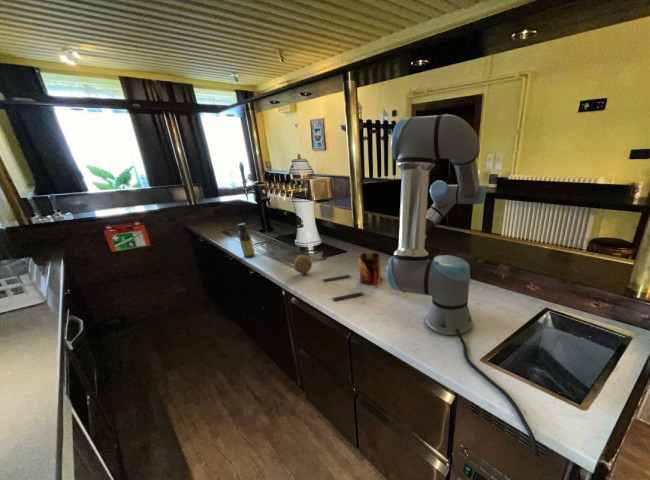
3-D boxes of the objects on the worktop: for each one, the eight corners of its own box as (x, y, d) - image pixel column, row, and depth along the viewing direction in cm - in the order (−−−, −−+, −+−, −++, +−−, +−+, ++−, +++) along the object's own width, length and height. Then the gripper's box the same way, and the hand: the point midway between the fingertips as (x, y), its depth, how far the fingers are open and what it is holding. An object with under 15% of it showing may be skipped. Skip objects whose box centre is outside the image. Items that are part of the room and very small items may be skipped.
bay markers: (362, 295, 127) (362, 294, 127) (334, 301, 123) (334, 300, 123) (348, 275, 148) (348, 274, 148) (324, 279, 144) (324, 279, 144)
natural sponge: (314, 275, 150) (311, 256, 145) (296, 278, 147) (292, 259, 143) (312, 269, 157) (309, 251, 153) (294, 272, 155) (291, 254, 150)
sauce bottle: (246, 255, 185) (238, 222, 177) (256, 254, 186) (248, 222, 177) (242, 258, 179) (234, 225, 171) (253, 257, 180) (245, 224, 172)
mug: (376, 288, 132) (375, 263, 127) (356, 280, 141) (354, 256, 136) (391, 281, 139) (390, 257, 134) (371, 274, 148) (369, 251, 143)
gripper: (441, 228, 134) (407, 269, 136) (428, 223, 145) (397, 261, 148) (431, 218, 130) (396, 260, 133) (418, 213, 142) (386, 252, 144)
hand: (397, 260), depth 140 cm, fingers closed
